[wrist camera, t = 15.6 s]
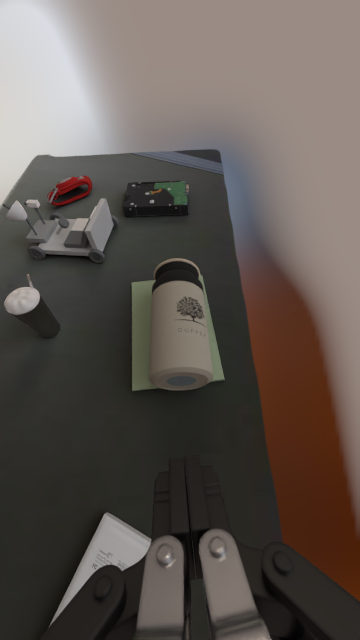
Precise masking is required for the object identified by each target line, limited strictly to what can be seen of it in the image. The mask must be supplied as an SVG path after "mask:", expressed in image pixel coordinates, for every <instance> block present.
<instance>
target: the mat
mask: <svg viewBox="0 0 360 640" xmlns="http://www.w3.org/2000/svg"><path fill="white" fill-rule="evenodd" d="M199 280H200V282H201V283H202V285H203V293H204V301H205V310H206V318H207V327H208V335H209V344H210V352H211V361H212V370H213V379H212V380H211V381H210V382H214V381H223V380H224V375H223V371H222V366H221V361H220V357H219V352H218V347H217V343H216V338H215V333H214V329H213V324H212V319H211V315H210V310H209V305H208V301H207V296H206V291H205V287H204V282H203V277H202V275H200V277H199ZM154 282H155V280H152V281H142V282H133V283H132V391H139V390H148V389H156V388H159V387H157V386H155V385H153V384H152V383H151V382H150V381H149V371H150V338H151V304H152V286H153V284H154Z"/></svg>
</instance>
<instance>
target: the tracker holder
mask: <svg viewBox="0 0 360 640" xmlns="http://www.w3.org/2000/svg"><path fill="white" fill-rule="evenodd" d="M84 184H87V185H88V191H86V192H84V193H81V194H79V195H77V196H74V197H72V198H70V199H67V200H65V201H62V202H58V203H54V202H53V200H55V199H57V198H58V196H57V195H62V194H64V193H67V192H69V191H70V190H72V189H74V188H76V187H78V186H80V185H84ZM91 189H92V182H91V180H90V178H89V177H87V176H81V177H77V178H76V177H69V178H66V179H64V180H62V181H60V182H59V183H58V184H57V185H56V188H54V189H53V191H52V192H50V193H49V194H48V196H47V203H50V204H52V205H56V206H58V205H64V204H68V203H70V202H73V201H75V200H77V199H80V198H82V197H84V196H86V195H88V194H89V192H90V191H91Z"/></svg>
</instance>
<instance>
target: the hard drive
mask: <svg viewBox="0 0 360 640" xmlns="http://www.w3.org/2000/svg"><path fill="white" fill-rule="evenodd" d="M150 544H151V539H150V538H149V537H147V536H145V535H144V534H142V533H141V532H139V531H137V530H136V529H134V528H133V527H131V526H129V525H128V524H126V523H125V522H123V521H121V520H120V519H118V518H117V517H115V516H114V515H112V514H110V513H108V512H107V513H105V514H104V516H103V518H102V520H101V522H100V524H99V526H98V528H97V530H96V532H95V534H94V536H93V538H92V540H91V542H90V544H89V546H88V548H87V550H86V552H85V554H84V556H83V558H82V561H81V562H80V565H79V567H78V569H77V571H76V573H75V575H74V577H73V579H72V581H71V583H70V585H69V587H68V589H67V591H66V593H65V595H64V597H63V599H62V601H61V603H60V605H59V608H58V610H57V612H56V614H55V616H54V618H53V620H52V622H51V624H52V623H53V622H54V621H55V619H56V618H57V617H58V616H59V614H60V613H61V612H62V611H63V609H64V608H65V607H66V606H67V605H68V603H69V602H70V601H71V600H72V598H73V597H74V596H75V595H76V594H77V592H78V591H79V590H80V589H81V587H82V586H83V585H84V584H85V582H86V581H87V580H88V579H89V578H90V576H91V575H92V574H93V573H94V572H95V571H96V570H98V569H99V568H101V567H103V566H105V565H115V566H117V567H119V568H120V569H121V570H122V571H123V570H125V569H127V568H128V567H130V566H132V565H134V564H135V563H137V562H138V561H140V560H141V559H142V558H143V557H144V555H145V554H146V553H147V551H148V549H149V547H150ZM51 624H50V625H51ZM49 627H50V626H49Z"/></svg>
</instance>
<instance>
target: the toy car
mask: <svg viewBox="0 0 360 640" xmlns="http://www.w3.org/2000/svg"><path fill="white" fill-rule="evenodd" d="M24 204H25V205H27V206H28V207H29V208H35V210H36V212H37V214H38V215H39V217H40V219H41V220H38V221H37V222H36V224H35V225H34V227H33V226H32V225H31V223H30V222H29V220H28V218H27V214H26V212H25V210H24V208H23V207H22V206H21V204H20V203H19V202H18V201H15V203H14V204H13V205H12V207H11V208H10V207H9V206H7V205H5V204H3V206H4V207H6V208H8V209H9V212H8V214H7V216H6V219H8V220H13V221H25V220H26V221H27V222H28V224H29V226H30V227H31V229H32V230H31V231H30V232H29V234H28V235H27V237H26V240H27V241H28V242H34V243H40V244H39V246H31V247H30V248H29V249H28V252H29V254H30V255H31V256H32V257H34V258H36V259H39V260H42V259H44V258H45V256H46V254H58V255H76V256H89V258H90V259H91V260H92V261H93V262H96V263H102V262H103V261H104V259H105V255H104V253H103V250H104V247H105V245H106V243H107V240H108V238H109V235H110V233H111V230H112V229H114V228H116V227H117V226H118V224H119V221H118V219H117V218H116V217H115V216H113V215H111V214H110V211H109V207H108V204H107V201H106V199H100V201H99V203H98V205H97V206H95V208H94V210H93V212H92V214H91V216H90V218H89V219H82V218H77V219H65V218H64V217H63V216H62V215H61V214H59V213H52V214H51V216H50V220H43V218H42V216H41V215H40V213H39V211H38V209H37V208H38V207H39V206H40V203H39V202H38V200H27V202H24Z"/></svg>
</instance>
